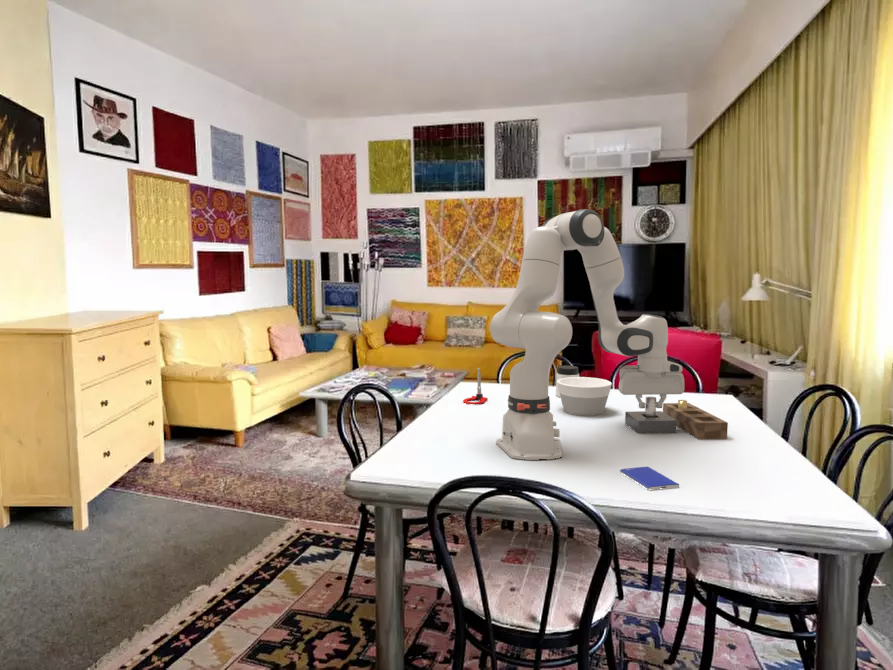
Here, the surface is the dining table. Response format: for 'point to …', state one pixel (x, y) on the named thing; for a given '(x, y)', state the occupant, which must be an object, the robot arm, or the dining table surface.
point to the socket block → (650, 422)
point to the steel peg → (650, 407)
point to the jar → (565, 375)
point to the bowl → (584, 395)
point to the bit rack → (697, 421)
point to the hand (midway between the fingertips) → (650, 407)
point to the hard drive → (649, 478)
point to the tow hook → (479, 395)
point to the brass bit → (682, 404)
